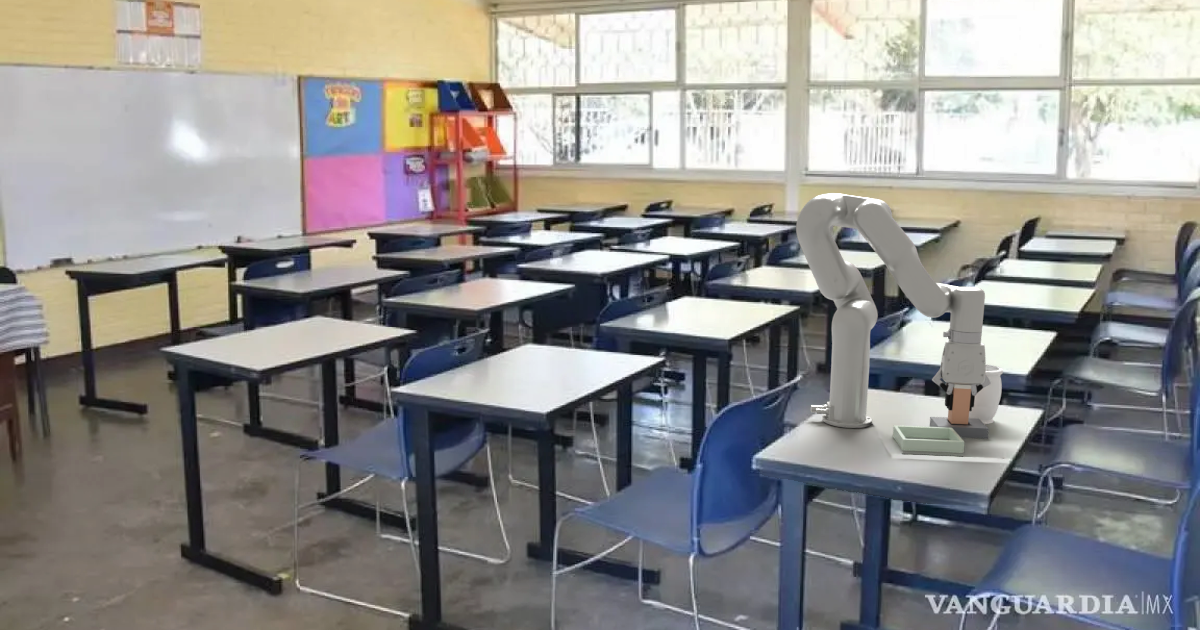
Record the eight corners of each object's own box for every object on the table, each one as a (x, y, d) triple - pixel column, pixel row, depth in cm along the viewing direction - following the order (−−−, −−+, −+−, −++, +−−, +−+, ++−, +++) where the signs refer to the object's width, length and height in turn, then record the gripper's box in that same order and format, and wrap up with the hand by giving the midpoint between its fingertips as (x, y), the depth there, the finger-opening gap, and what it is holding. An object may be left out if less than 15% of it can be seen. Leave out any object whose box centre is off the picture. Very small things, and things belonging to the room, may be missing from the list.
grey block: (937, 440, 254) (938, 426, 254) (929, 430, 263) (930, 416, 262) (987, 442, 253) (988, 428, 253) (977, 432, 262) (978, 418, 261)
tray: (902, 454, 242) (903, 439, 242) (892, 439, 254) (893, 425, 254) (963, 456, 241) (964, 441, 241) (950, 441, 253) (952, 427, 252)
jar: (992, 418, 275) (996, 363, 272) (1003, 429, 265) (1008, 372, 262) (951, 417, 276) (955, 362, 273) (960, 427, 266) (965, 370, 263)
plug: (951, 423, 256) (954, 384, 254) (947, 419, 260) (950, 380, 258) (968, 424, 256) (971, 385, 254) (963, 420, 259) (967, 381, 258)
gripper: (933, 338, 251) (927, 411, 254) (1004, 341, 249) (997, 415, 253) (926, 333, 258) (921, 404, 261) (995, 335, 257) (989, 407, 260)
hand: (958, 408), depth 257 cm, fingers closed on plug, 4 cm apart
